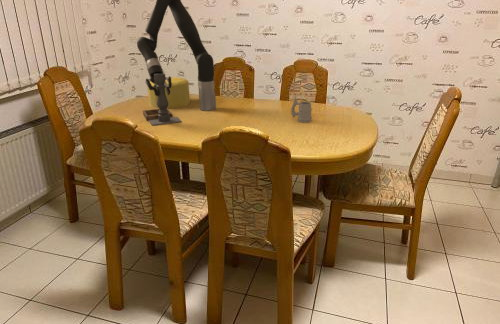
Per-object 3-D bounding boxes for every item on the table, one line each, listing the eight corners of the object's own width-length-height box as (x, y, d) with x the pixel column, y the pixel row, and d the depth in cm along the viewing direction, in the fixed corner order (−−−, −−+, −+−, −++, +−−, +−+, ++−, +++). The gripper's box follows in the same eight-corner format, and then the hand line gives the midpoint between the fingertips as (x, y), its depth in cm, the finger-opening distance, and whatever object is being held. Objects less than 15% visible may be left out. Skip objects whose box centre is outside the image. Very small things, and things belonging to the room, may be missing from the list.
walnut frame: (167, 112, 225) (166, 107, 224) (172, 117, 213) (171, 113, 212) (143, 114, 220) (142, 110, 219) (146, 120, 208) (146, 116, 207)
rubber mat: (177, 117, 213) (177, 116, 213) (181, 122, 204) (181, 121, 204) (148, 121, 207) (148, 119, 207) (151, 125, 199) (151, 124, 198)
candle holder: (167, 122, 202) (162, 75, 193) (156, 121, 203) (151, 74, 194) (171, 119, 208) (167, 73, 198) (161, 118, 209) (156, 73, 199)
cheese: (159, 98, 259) (157, 76, 254) (195, 99, 254) (193, 77, 249) (142, 107, 236) (139, 83, 230) (181, 109, 231) (179, 84, 225)
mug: (308, 123, 199) (309, 101, 194) (288, 120, 204) (288, 99, 200) (313, 120, 205) (314, 98, 200) (293, 117, 210) (294, 96, 206)
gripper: (142, 65, 197) (150, 92, 192) (168, 63, 204) (177, 89, 198) (140, 74, 204) (149, 100, 198) (166, 71, 210) (175, 97, 205)
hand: (163, 94), depth 198 cm, fingers open, 5 cm apart
